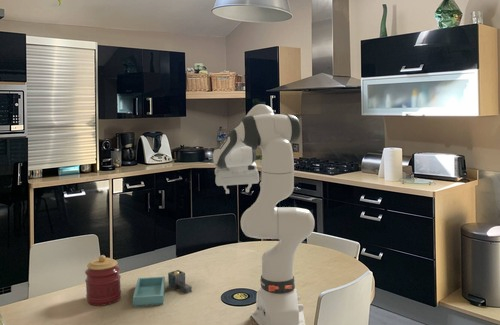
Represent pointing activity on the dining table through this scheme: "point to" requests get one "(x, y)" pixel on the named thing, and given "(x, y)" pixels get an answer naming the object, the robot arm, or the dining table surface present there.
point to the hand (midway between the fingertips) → (237, 192)
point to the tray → (149, 291)
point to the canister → (103, 281)
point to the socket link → (178, 282)
